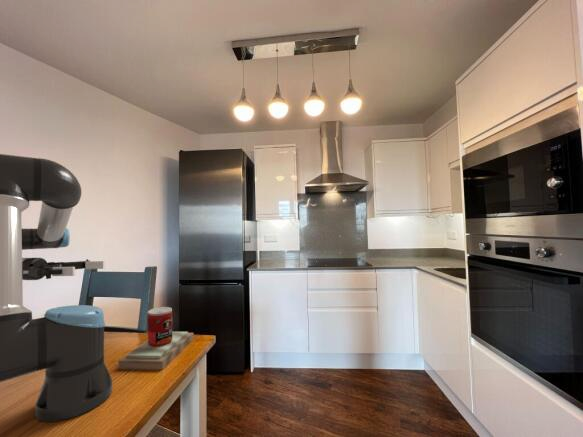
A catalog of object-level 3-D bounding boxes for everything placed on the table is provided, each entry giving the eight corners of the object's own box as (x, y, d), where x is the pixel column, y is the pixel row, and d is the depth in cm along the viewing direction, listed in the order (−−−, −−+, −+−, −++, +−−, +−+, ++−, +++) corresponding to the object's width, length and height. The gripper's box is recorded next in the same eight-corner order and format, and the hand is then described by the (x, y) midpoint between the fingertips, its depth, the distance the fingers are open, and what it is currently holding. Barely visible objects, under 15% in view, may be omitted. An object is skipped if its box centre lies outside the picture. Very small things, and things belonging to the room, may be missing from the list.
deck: (162, 369, 83) (162, 358, 83) (118, 369, 84) (118, 357, 84) (193, 339, 105) (193, 330, 105) (158, 339, 106) (158, 330, 106)
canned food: (157, 349, 89) (157, 315, 89) (142, 344, 93) (142, 311, 93) (177, 340, 96) (177, 308, 96) (162, 336, 100) (162, 305, 100)
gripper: (59, 273, 105) (114, 272, 105) (-14, 288, 80) (58, 287, 80) (59, 253, 106) (114, 252, 105) (-14, 263, 81) (58, 261, 80)
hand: (90, 267), depth 93 cm, fingers open, 13 cm apart
